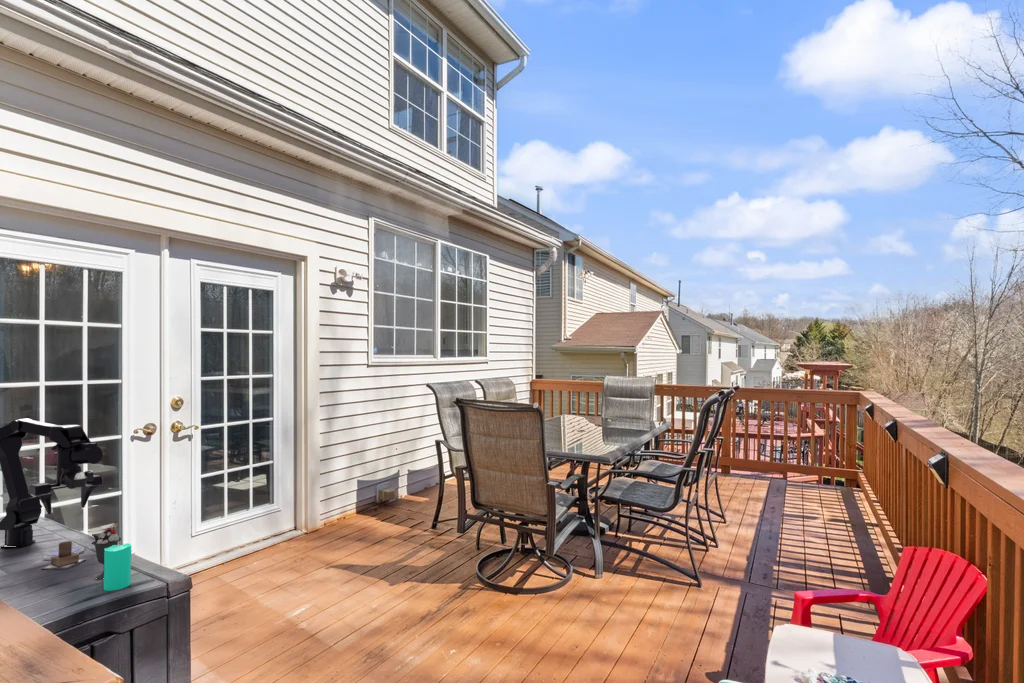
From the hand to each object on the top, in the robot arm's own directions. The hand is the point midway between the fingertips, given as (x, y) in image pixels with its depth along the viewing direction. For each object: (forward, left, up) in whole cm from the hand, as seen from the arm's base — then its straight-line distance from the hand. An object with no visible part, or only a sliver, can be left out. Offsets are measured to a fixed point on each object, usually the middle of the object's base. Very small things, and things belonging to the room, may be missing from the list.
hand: (66, 510), depth 177 cm
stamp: (+12, -16, -12) cm, 23 cm away
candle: (+40, -33, -12) cm, 53 cm away
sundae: (+32, -26, -12) cm, 43 cm away
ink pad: (+6, -8, -12) cm, 16 cm away
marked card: (+12, -16, -12) cm, 24 cm away
